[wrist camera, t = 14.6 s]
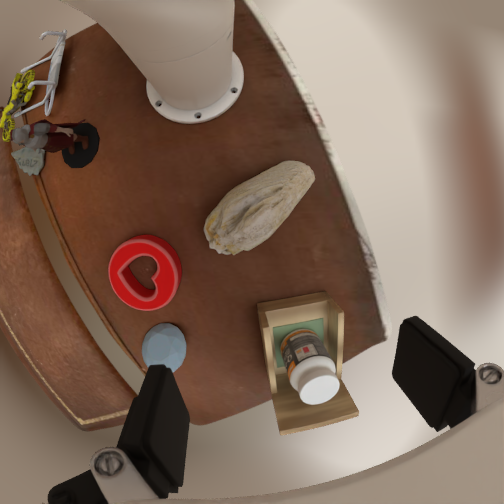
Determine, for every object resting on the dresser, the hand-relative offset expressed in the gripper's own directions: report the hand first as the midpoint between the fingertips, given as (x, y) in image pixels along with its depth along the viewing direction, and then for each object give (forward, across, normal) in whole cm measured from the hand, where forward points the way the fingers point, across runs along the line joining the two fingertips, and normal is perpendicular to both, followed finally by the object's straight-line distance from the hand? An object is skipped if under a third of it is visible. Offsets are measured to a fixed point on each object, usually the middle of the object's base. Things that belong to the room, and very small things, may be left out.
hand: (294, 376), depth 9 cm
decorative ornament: (+26, +14, +2) cm, 30 cm away
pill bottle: (+23, -5, +15) cm, 28 cm away
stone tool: (+26, +31, -21) cm, 45 cm away
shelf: (+26, -5, +15) cm, 31 cm away
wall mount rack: (+26, +27, -31) cm, 49 cm away
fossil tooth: (+26, -2, -5) cm, 27 cm away
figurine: (+26, +21, -17) cm, 38 cm away
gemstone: (+26, +14, +13) cm, 33 cm away
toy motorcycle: (+23, +31, -26) cm, 46 cm away
